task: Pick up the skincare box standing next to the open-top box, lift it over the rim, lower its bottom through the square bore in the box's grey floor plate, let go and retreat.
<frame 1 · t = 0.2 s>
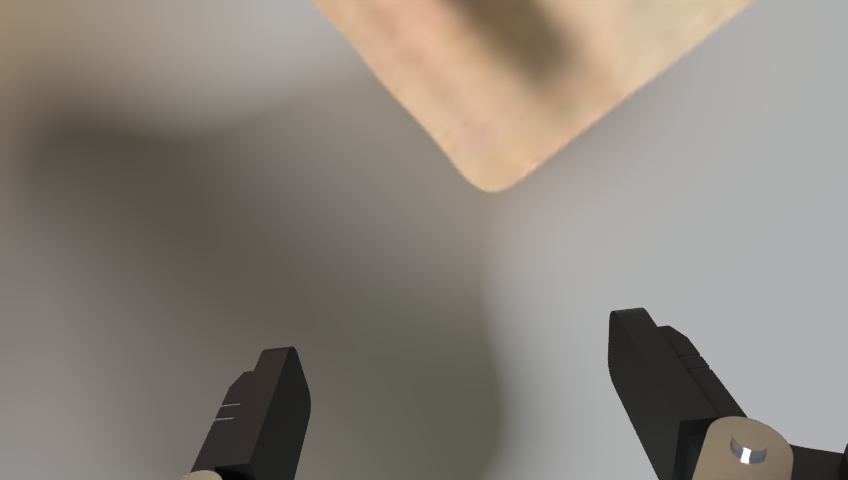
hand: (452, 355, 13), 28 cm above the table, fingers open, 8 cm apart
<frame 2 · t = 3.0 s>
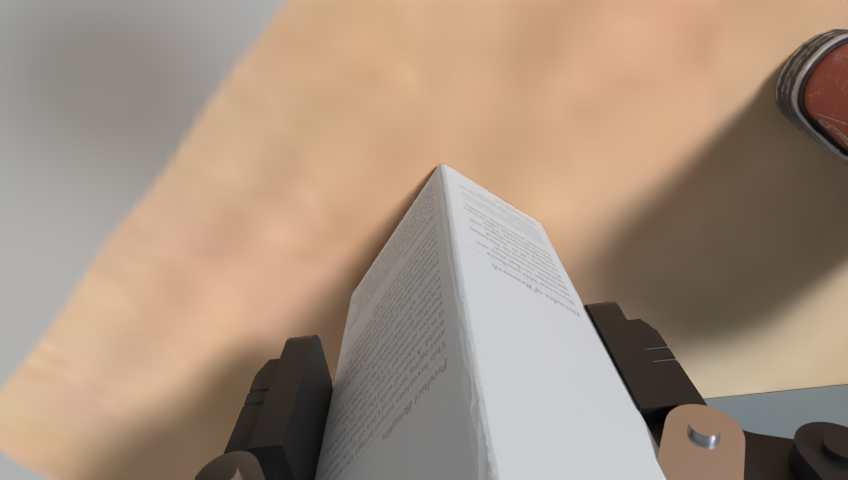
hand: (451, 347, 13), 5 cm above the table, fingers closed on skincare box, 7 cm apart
skincare box: (445, 254, 18), on the table, touching gripper
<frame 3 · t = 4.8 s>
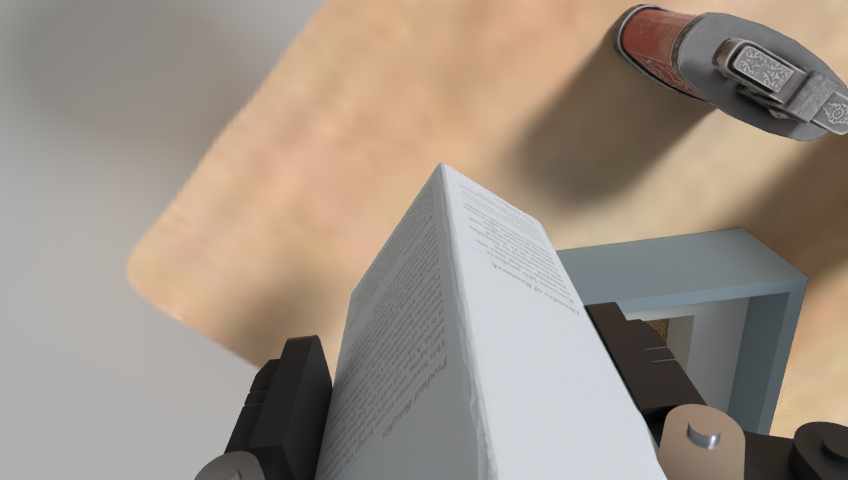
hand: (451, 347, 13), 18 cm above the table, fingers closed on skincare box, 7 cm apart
skincare box: (445, 253, 18), point 13 cm above the table, touching gripper
bore box: (595, 355, 37), on the table
lighter: (677, 55, 27), on the table
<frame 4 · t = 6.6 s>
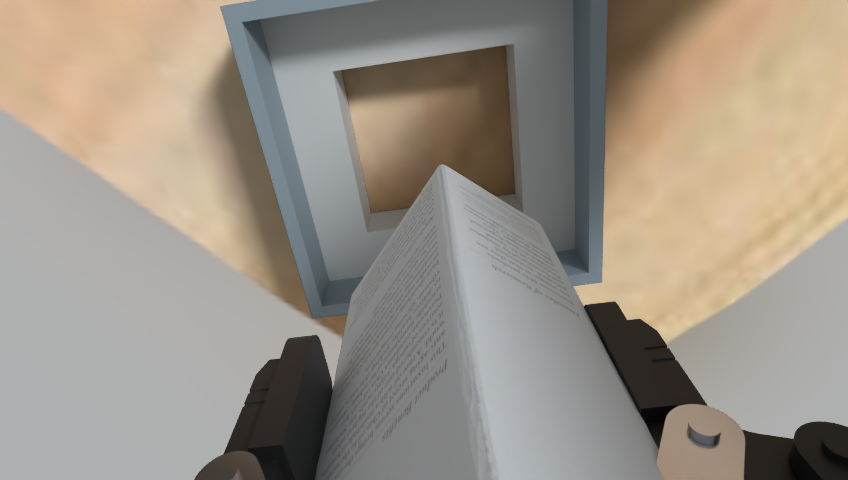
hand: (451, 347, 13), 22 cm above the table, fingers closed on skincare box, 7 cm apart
skincare box: (445, 255, 18), point 17 cm above the table, touching gripper
bore box: (432, 132, 33), on the table
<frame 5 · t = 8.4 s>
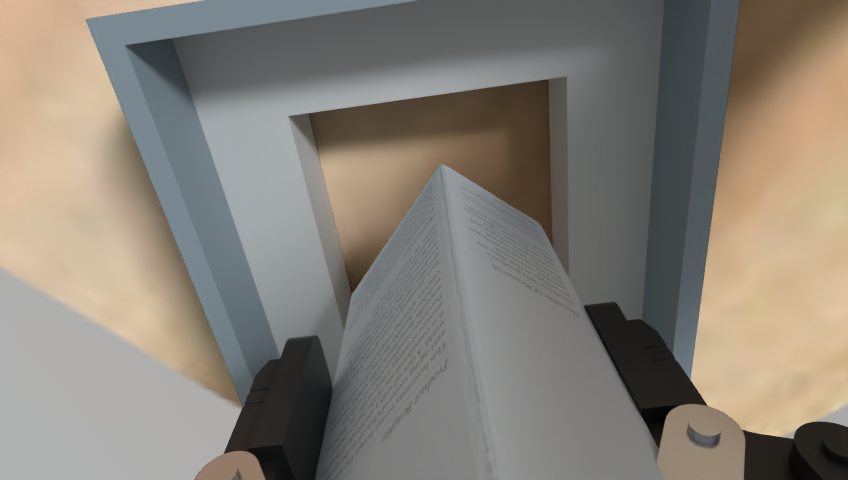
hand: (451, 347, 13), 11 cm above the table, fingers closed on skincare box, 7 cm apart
skincare box: (445, 254, 18), point 6 cm above the table, touching gripper
bore box: (439, 194, 23), on the table
when the fingers open (6 cm above the table, at t = 10.2 s): skincare box stays where it is, resting in bore box.
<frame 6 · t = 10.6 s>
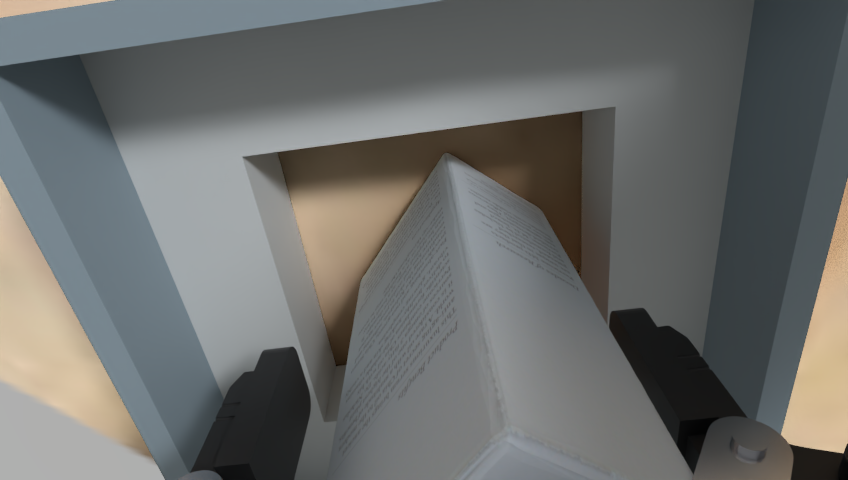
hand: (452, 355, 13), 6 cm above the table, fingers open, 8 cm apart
skincare box: (450, 240, 19), resting in bore box
bore box: (442, 244, 18), on the table
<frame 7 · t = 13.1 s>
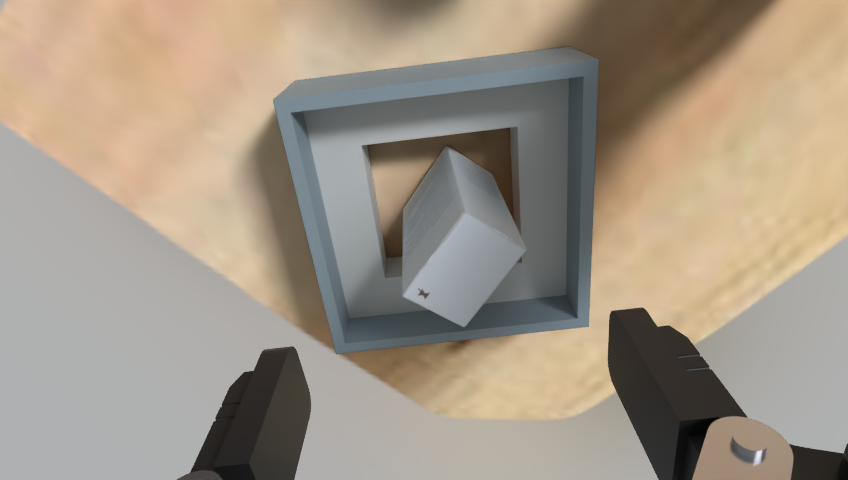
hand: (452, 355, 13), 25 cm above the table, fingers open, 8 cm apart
skincare box: (447, 189, 38), resting in bore box
bore box: (444, 191, 37), on the table
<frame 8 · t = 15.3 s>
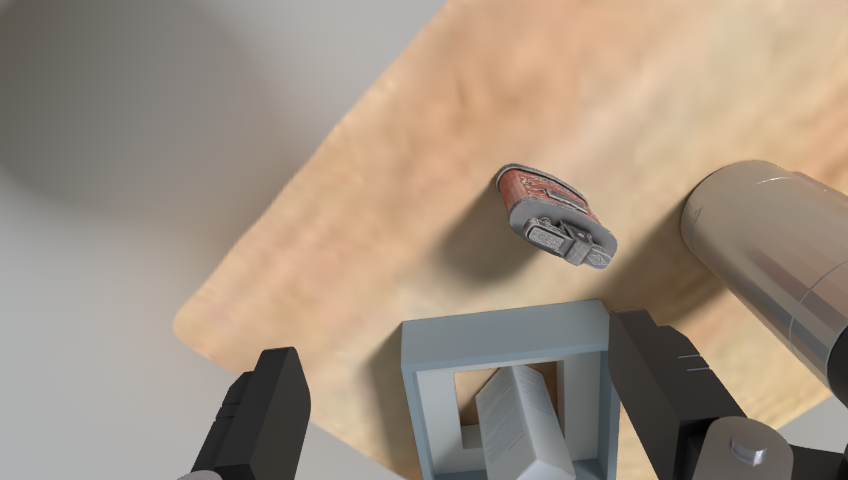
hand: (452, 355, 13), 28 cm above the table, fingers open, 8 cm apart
skincare box: (508, 382, 51), resting in bore box
bore box: (506, 384, 51), on the table
lighter: (540, 191, 41), on the table
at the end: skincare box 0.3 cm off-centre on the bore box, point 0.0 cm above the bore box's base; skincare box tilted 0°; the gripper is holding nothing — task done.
